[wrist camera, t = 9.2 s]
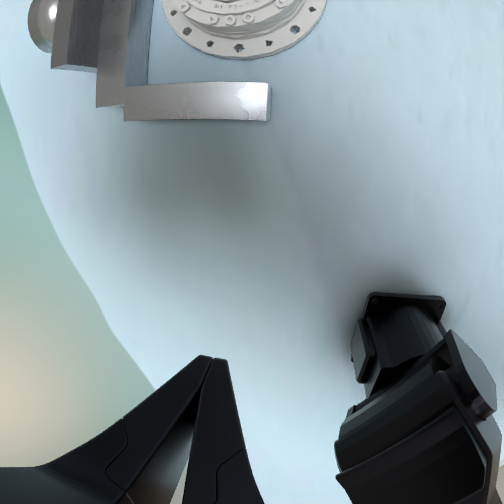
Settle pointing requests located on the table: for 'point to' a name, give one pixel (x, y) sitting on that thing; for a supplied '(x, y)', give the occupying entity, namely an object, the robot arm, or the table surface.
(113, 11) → the clevis bracket
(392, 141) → the table surface
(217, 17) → the mechanical component
